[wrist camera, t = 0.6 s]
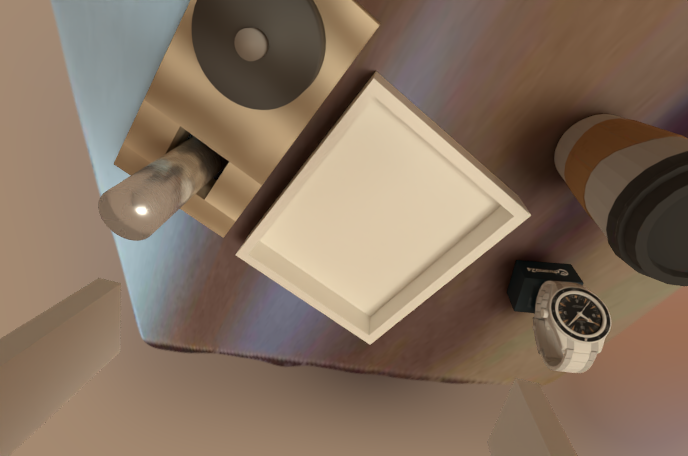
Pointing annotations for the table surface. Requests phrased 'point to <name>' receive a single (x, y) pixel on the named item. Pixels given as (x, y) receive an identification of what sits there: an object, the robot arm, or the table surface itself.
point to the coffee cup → (632, 190)
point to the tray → (380, 215)
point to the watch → (560, 314)
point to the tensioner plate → (231, 120)
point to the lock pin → (159, 189)
